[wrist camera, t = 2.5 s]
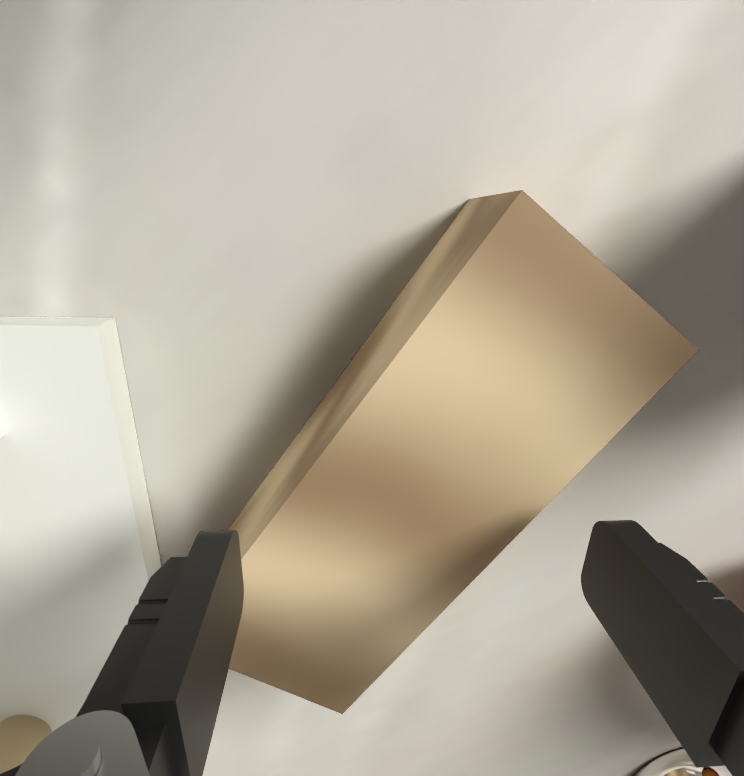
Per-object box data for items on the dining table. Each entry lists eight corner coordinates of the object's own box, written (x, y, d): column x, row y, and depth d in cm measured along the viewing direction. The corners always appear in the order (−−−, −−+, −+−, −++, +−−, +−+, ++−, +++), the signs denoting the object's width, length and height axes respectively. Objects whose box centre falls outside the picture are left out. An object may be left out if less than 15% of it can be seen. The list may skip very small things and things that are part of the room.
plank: (465, 199, 12) (522, 190, 8) (599, 313, 13) (698, 349, 10) (214, 544, 16) (175, 646, 12) (341, 605, 17) (342, 713, 13)
